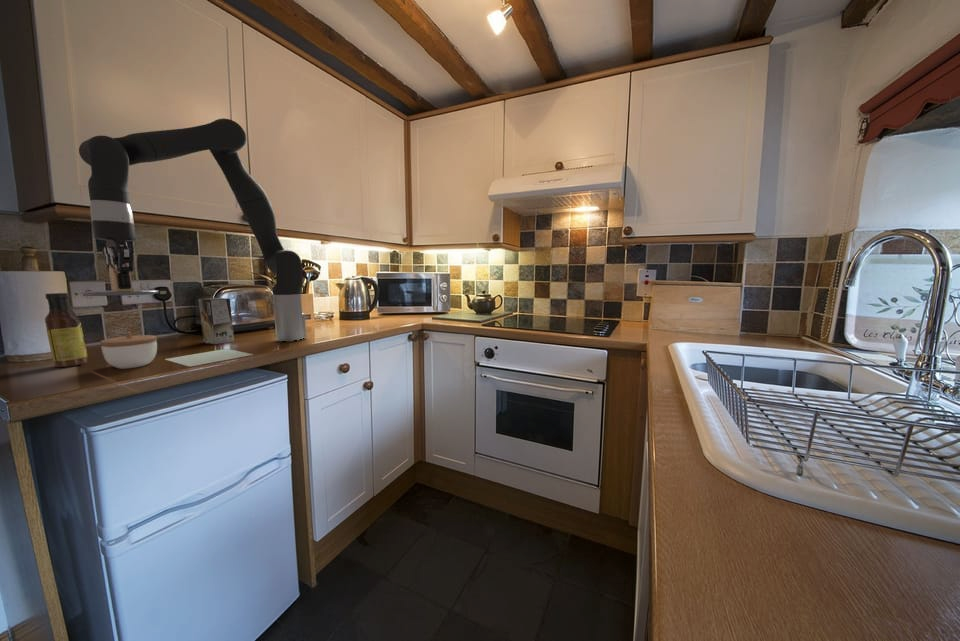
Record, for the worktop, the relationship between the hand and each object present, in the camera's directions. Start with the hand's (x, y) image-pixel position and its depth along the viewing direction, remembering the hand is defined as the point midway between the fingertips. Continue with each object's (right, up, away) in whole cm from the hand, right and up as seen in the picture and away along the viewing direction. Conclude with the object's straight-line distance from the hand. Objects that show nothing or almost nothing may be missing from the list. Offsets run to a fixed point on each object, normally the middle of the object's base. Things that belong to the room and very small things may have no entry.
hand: (122, 288), depth 91 cm
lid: (0, -2, 0) cm, 2 cm away
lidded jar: (0, -21, +3) cm, 21 cm away
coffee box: (-2, -17, +36) cm, 40 cm away
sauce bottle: (-19, -21, +5) cm, 28 cm away
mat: (+14, -20, +12) cm, 27 cm away
